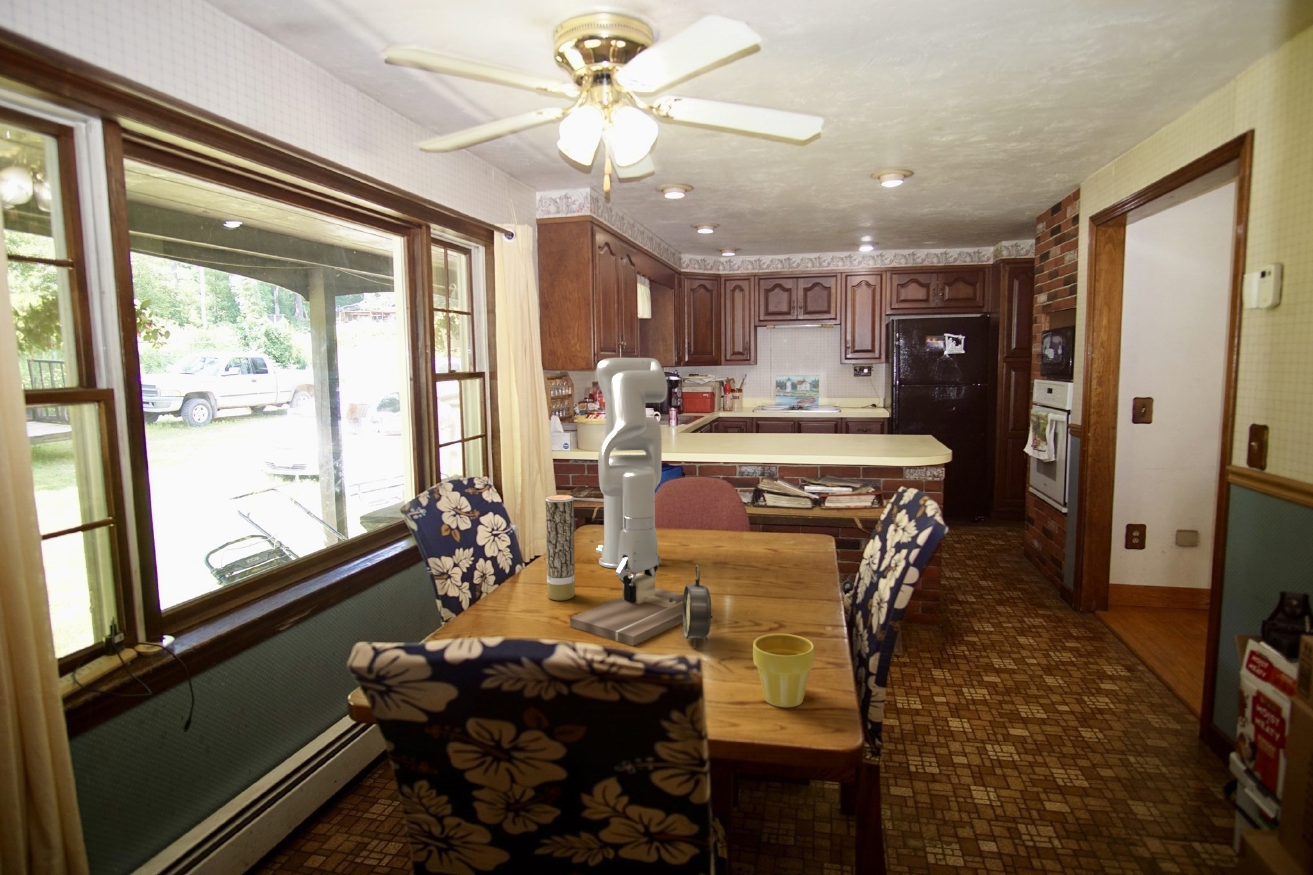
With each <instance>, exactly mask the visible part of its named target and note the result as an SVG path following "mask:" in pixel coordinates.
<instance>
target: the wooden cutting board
mask: <svg viewBox="0 0 1313 875" xmlns="http://www.w3.org/2000/svg"><path fill="white" fill-rule="evenodd" d="M655 596H656V597H660V598H664V599H668V600H669V598H673V601H676V607H674V608H672V609H671V608H667V607H663V606H659V605H656V604H652V603H648V602H643V603H641V604H637V603H633V602H629V601H625V600H623V596H622V597H618V598H616V599H614V600H611V601H609V602H606V603H603V604H601V605H599V606H596V607H593V608H591V609H588V610H586V611H583V612H581V613H579V614H576V615H573V616H571V617H569V621H570V622H569V624H570V626H569V627H571V628H575V629H577V630H581V631H584V632H587V633H589V634H592V635H593V634H594V635H596V636H599V637H602V638H605V639H609V640H613V641H616V642H618V643H622V644H625V645H628V644H630V645H629V646H631V647H635V646H636V645H639V644H640V642H641V643H643V642H645V641H647V640H648V638H649V639H651V638H653V637H655V636H657V635H659V634H661V633H663V632H665V631H667V630H669V629H671V628H674V627H675V626H677V625H679V624H680V625H681V624H683V596H684V593H683V594H682V593H678V592H674V591H670V590H666V589H662V588H657V587H655ZM652 636H653V637H652ZM644 640H645V641H644ZM638 643H639V644H638ZM634 645H635V646H634Z"/></svg>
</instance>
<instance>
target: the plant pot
mask: <svg viewBox="0 0 1313 875" xmlns="http://www.w3.org/2000/svg"><path fill="white" fill-rule="evenodd" d="M815 658H816V657H815V645H814V643H813V642H812V641H811V640H809V639H808V638H805V637H803V636H800V635H796V634H790V633H789V634H787V633H771V634H769V633H768V634H764V635H761V636H759V637H757V638H756V639H754V640H753V644H752V660H753V661H752V662H753V665H754V666H756V668H757V671H758V677H759V681H760V685H761V689H762V695H763V699H764V700H765V702H766V703H767V704H769V705H771V706H773V707H778V708H794V707H797V706H798V707H799V706H800V705H802V703H803V702H804V697H805V693H806V688H807V684H808V678H809V675H810V671H811V670H812V669H813V668H814V666H815Z"/></svg>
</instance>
